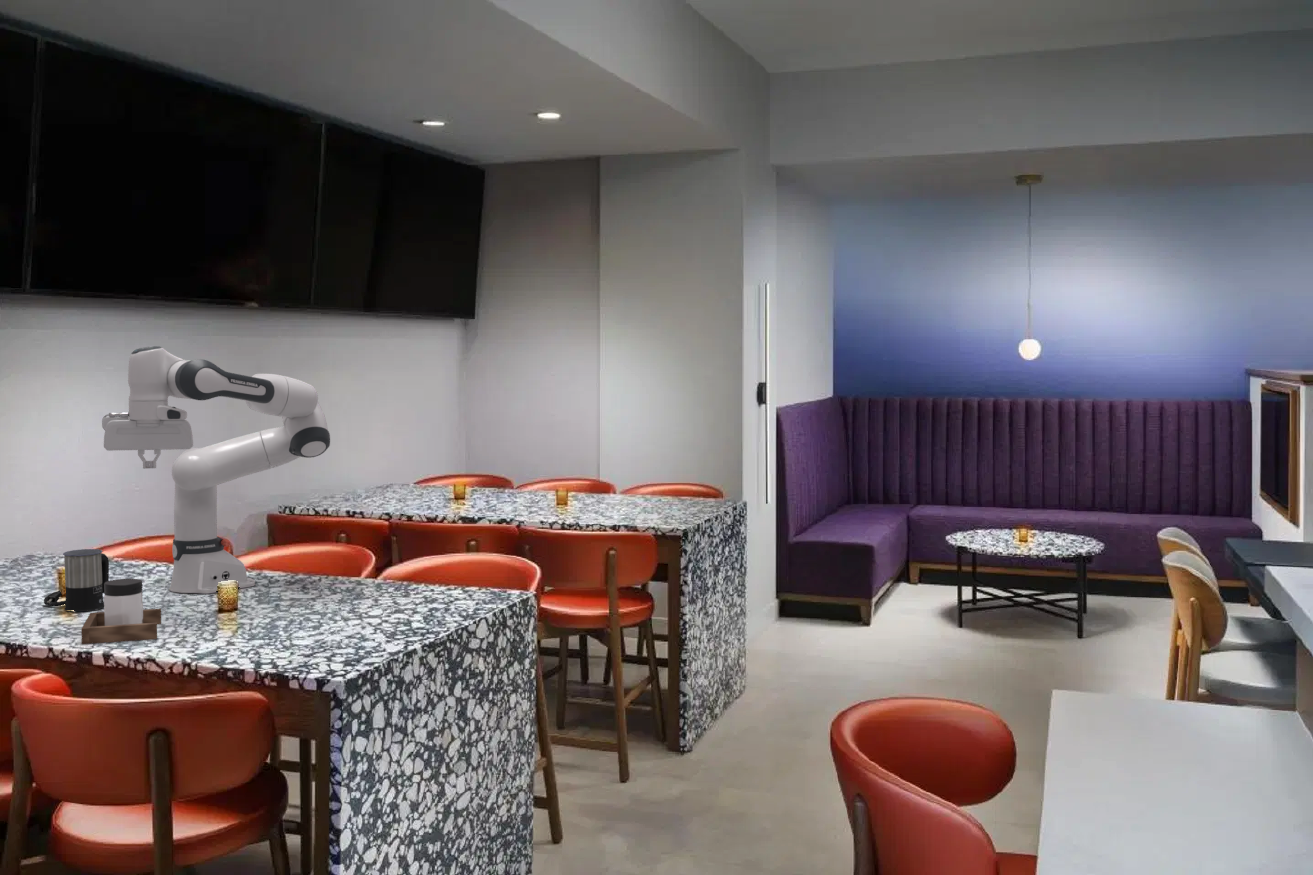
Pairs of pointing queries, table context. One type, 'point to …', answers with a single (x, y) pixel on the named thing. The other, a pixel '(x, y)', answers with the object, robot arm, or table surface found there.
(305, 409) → the robot arm
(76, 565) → the milk frother
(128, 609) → the jar
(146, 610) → the brown square open piece
